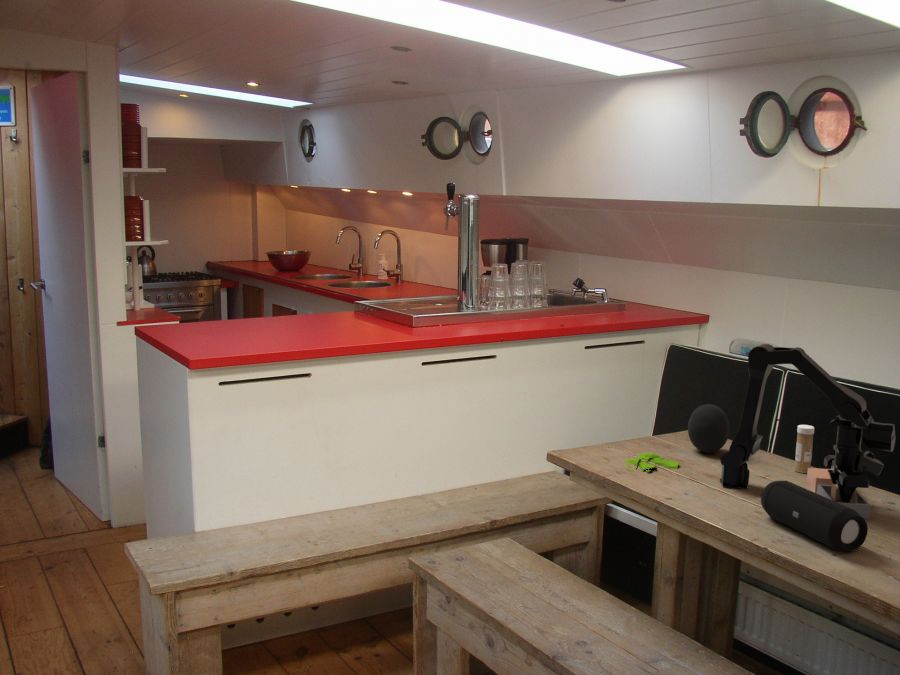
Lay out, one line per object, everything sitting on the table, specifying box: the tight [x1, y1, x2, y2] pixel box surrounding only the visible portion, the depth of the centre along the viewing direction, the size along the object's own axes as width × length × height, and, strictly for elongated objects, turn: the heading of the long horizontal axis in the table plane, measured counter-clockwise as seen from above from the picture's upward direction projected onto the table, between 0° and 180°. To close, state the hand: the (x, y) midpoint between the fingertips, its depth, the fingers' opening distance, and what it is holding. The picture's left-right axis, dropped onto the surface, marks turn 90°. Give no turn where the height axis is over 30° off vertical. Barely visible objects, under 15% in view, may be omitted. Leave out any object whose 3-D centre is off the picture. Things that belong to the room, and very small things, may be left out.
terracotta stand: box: [805, 467, 832, 493], centre depth 243 cm, size 9×9×4 cm
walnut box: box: [831, 484, 858, 504], centre depth 229 cm, size 5×4×6 cm
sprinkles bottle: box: [794, 424, 815, 474], centre depth 258 cm, size 5×5×14 cm
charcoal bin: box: [817, 485, 872, 520], centre depth 229 cm, size 9×14×4 cm, turn 172°
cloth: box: [625, 452, 680, 475], centre depth 261 cm, size 20×22×2 cm
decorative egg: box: [687, 403, 730, 454], centre depth 275 cm, size 12×12×15 cm
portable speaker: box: [760, 480, 869, 552], centre depth 210 cm, size 26×10×10 cm, turn 22°
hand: (842, 503), depth 229 cm, fingers closed on walnut box, 4 cm apart
